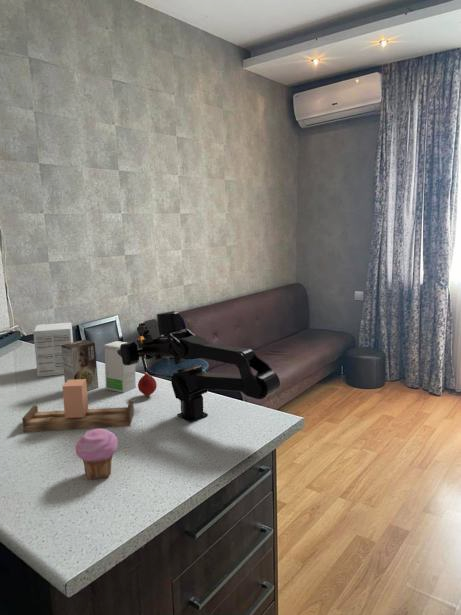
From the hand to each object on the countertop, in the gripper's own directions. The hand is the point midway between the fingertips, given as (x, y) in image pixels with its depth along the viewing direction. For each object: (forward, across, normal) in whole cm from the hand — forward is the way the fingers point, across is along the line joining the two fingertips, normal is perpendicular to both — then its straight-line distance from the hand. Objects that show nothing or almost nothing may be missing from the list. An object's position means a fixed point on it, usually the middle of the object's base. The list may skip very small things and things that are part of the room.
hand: (129, 348), depth 141 cm
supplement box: (+50, -5, +9) cm, 51 cm away
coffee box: (+24, +4, +13) cm, 27 cm away
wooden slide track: (+1, +20, +16) cm, 26 cm away
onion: (0, -4, +17) cm, 17 cm away
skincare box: (+13, -5, +15) cm, 20 cm away
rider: (+1, +21, +15) cm, 26 cm away
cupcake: (-26, +35, +21) cm, 48 cm away
